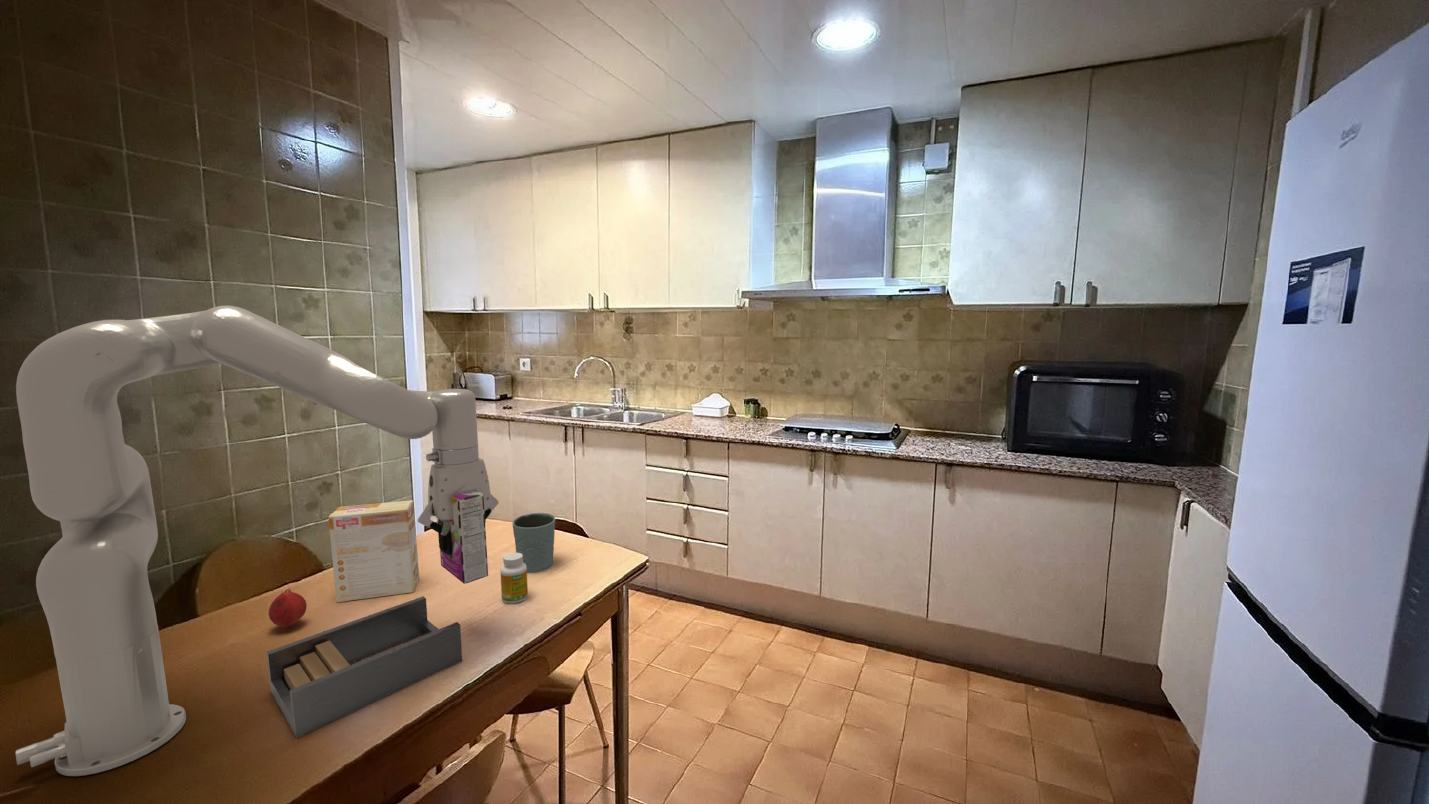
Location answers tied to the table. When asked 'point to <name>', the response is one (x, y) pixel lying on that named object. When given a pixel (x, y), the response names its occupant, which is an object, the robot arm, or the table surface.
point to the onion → (287, 608)
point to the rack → (358, 664)
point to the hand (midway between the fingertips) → (462, 547)
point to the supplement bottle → (514, 579)
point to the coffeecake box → (374, 550)
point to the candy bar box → (467, 538)
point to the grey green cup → (535, 540)
